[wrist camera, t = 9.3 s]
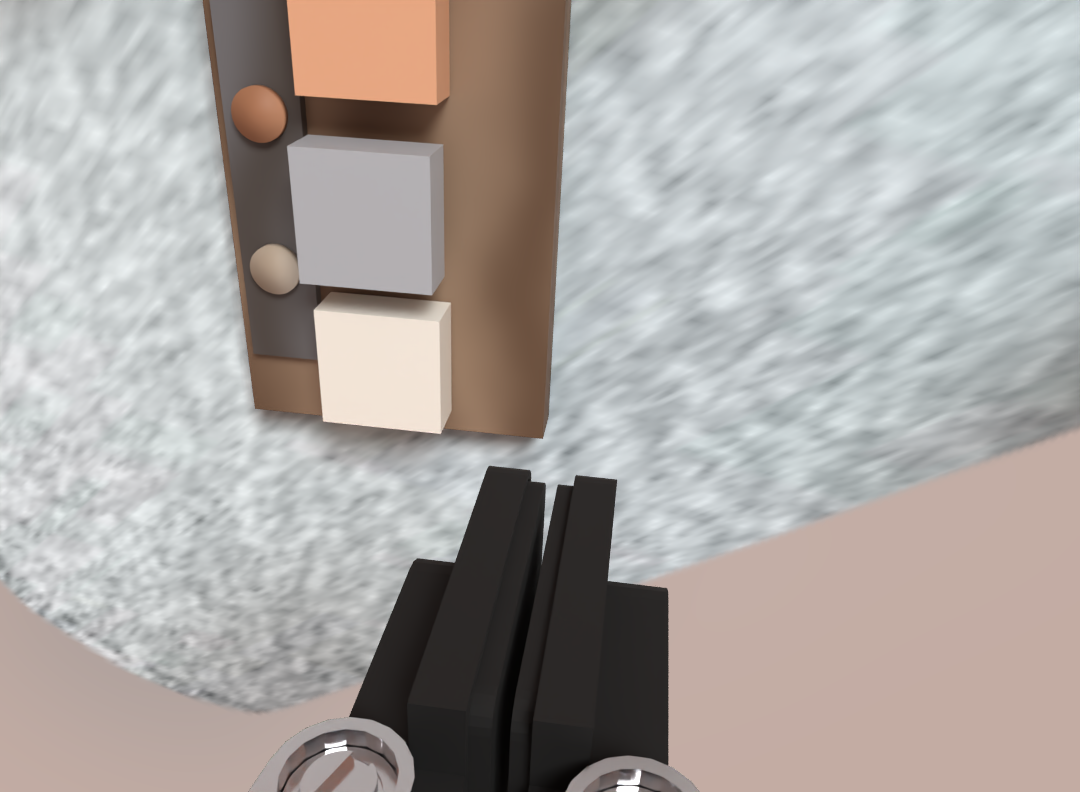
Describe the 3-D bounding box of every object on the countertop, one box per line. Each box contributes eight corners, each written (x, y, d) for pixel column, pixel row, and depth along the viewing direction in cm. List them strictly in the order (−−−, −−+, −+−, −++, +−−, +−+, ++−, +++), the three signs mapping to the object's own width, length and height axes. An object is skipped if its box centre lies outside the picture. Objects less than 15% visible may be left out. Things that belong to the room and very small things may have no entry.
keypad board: (576, -89, 30) (567, -91, 27) (548, 416, 39) (540, 449, 37) (216, -105, 31) (175, -109, 29) (272, 388, 41) (246, 418, 38)
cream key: (450, 302, 35) (439, 321, 33) (451, 410, 37) (440, 433, 36) (331, 291, 35) (313, 310, 34) (339, 399, 38) (323, 421, 36)
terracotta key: (448, -61, 29) (434, -61, 27) (449, 95, 31) (436, 104, 29) (304, -69, 29) (280, -69, 28) (315, 86, 32) (295, 95, 30)
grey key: (443, 144, 31) (430, 156, 29) (444, 276, 33) (432, 295, 32) (308, 134, 31) (287, 146, 30) (319, 265, 34) (299, 283, 32)
